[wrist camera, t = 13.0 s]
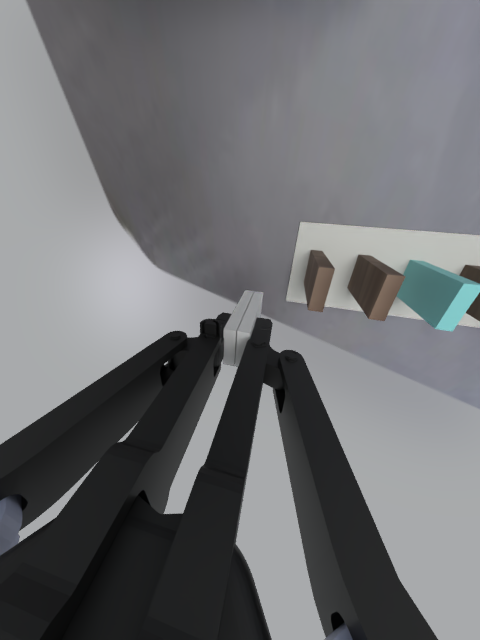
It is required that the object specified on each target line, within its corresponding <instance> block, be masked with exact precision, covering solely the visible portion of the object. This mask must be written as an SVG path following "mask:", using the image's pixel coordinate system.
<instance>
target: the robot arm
mask: <svg viewBox="0 0 480 640" xmlns="http://www.w3.org/2000/svg"><path fill="white" fill-rule="evenodd" d="M262 300H263V292H257V291H255V292H254V291H250V290H245V291H244V293H243V295H242V297H241V299H240V300H239V302H238V304H237V306H236V307H235V309H234V311H233V313H232V314H229V313H222V314H220V315H218V317H217V318H216V319H205V320H203V321H201V322H200V335H199V337H195V338H187V335H186V333H184V332H182V331H173V332H170V333H168V334H166V335H164V336H163V337H162V338H160V339H158V340H157V341H155V342H154V343H152V344H151V345H149V346H148V347H146V348H145V349H143V350H142V351H141V352H139V353H137V354H136V355H134V356H133V357H132V358H130V359H128V360H127V361H126V362H124V363H122V364H121V365H119V366H118V367H117V368H115V369H113V370H112V371H110V372H109V373H108V374H106V375H104V376H103V377H101V378H100V379H98V380H97V381H95V382H94V383H93V384H91V385H89V386H88V387H86V388H85V389H83V390H82V391H80V392H79V393H77V394H76V395H74V396H73V397H71V398H70V399H68V400H67V401H65V402H64V403H62V404H61V405H59V406H58V407H56V408H55V409H53V410H52V411H51V412H49V413H47V414H46V415H44V416H43V417H41V418H40V419H38V420H37V421H35V422H34V423H32V424H31V425H29V426H28V427H26V428H25V429H23V430H22V431H20V432H19V433H17V434H16V435H14V436H13V437H11V438H10V439H8V440H7V441H5V442H4V443H2V444H1V445H0V640H271V636H270V633H269V629H268V626H267V623H266V619H265V616H264V613H263V609H262V606H261V603H260V599H259V596H258V593H257V589H256V586H255V583H254V580H253V577H252V573H251V571H250V569H249V567H248V564H247V562H246V560H245V558H244V556H243V554H242V553H241V551H240V550H239V548H238V547H237V545H236V544H235V543H236V537H237V531H238V525H239V519H240V513H241V507H242V501H243V495H244V489H245V484H246V477H247V472H248V466H249V461H250V455H251V449H252V443H253V437H254V431H255V425H256V420H257V414H258V408H259V402H260V397H261V391H262V385H263V383H265V384H267V385H269V386H271V387H273V393H274V399H275V404H276V409H277V414H278V420H279V425H280V430H281V435H282V440H283V445H284V450H285V456H286V461H287V466H288V471H289V476H290V482H291V487H292V492H293V497H294V502H295V507H296V512H297V518H298V523H299V528H300V533H301V538H302V543H303V549H304V553H305V559H306V564H307V570H308V574H309V578H310V583H311V587H312V592H313V596H314V600H315V603H316V606H317V610H318V613H319V617H320V620H321V623H322V627H323V630H324V633H325V635H326V638H325V639H324V640H438V639H437V637H436V636H435V635H434V633H433V631H432V630H431V628H430V626H429V625H428V623H427V622H426V620H425V619H424V617H423V616H422V614H421V613H420V611H419V610H418V608H417V607H416V605H415V604H414V602H413V600H412V599H411V597H410V596H409V594H408V593H407V591H406V590H405V588H404V586H403V585H402V583H401V582H400V580H399V578H398V576H397V574H396V571H395V569H394V567H393V564H392V562H391V560H390V557H389V555H388V553H387V550H386V548H385V546H384V543H383V541H382V539H381V536H380V534H379V532H378V530H377V527H376V525H375V523H374V520H373V518H372V516H371V513H370V511H369V509H368V506H367V504H366V502H365V500H364V497H363V495H362V493H361V490H360V488H359V486H358V483H357V481H356V479H355V476H354V474H353V472H352V469H351V467H350V465H349V463H348V460H347V458H346V455H345V454H344V451H343V449H342V447H341V444H340V442H339V439H338V437H337V435H336V432H335V430H334V428H333V426H332V423H331V421H330V418H329V416H328V414H327V412H326V409H325V407H324V405H323V402H322V400H321V398H320V395H319V393H318V391H317V388H316V386H315V384H314V381H313V379H312V377H311V375H310V372H309V370H308V368H307V366H306V363H305V361H304V359H303V357H302V355H301V354H299V353H298V352H295V351H293V350H284V351H282V352H281V353H278V352H276V351H274V350H273V349H272V348H271V347H270V345H269V342H270V336H271V329H272V322H271V320H270V319H264V318H260V316H261V308H262ZM222 359H223V364H226V365H231V366H234V365H235V366H236V367H238V369H237V372H236V375H235V378H234V381H233V384H232V387H231V389H230V392H229V395H228V398H227V401H226V404H225V407H224V410H223V413H222V416H221V419H220V422H219V424H218V427H217V431H216V433H215V436H214V439H213V442H212V445H211V448H210V451H209V454H208V456H207V459H206V462H205V464H204V465H203V466H202V467H201V468H200V470H199V472H198V474H197V477H196V479H195V482H194V485H193V488H192V491H191V493H190V496H189V499H188V502H187V504H186V507H185V510H184V513H183V514H163V513H164V511H165V507H166V505H167V501H168V496H169V491H170V487H171V485H172V482H173V479H174V477H175V475H176V472H177V470H178V468H179V465H180V463H181V461H182V458H183V456H184V454H185V451H186V449H187V447H188V444H189V442H190V440H191V437H192V435H193V433H194V430H195V428H196V426H197V423H198V421H199V419H200V416H201V414H202V412H203V409H204V407H205V404H206V402H207V400H208V398H209V395H210V393H211V391H212V388H213V386H214V384H215V381H216V379H217V377H218V374H219V372H220V369H221V361H222ZM167 361H168V363H167V364H166V365H164V363H165V362H167ZM138 421H139V422H138ZM137 422H138V423H137ZM136 423H137V425H136V426H135V428H134V429H133V430H132V432H131V433H130V435H129V436H128V437H127V438H126V440H124V441H123V442H118V441H119V440H120V439H121V438H122V437H123V436H124V435H125V434H126V433H127V432H128V431H129V430H130V429H131V428H132V427H133V426H134V425H135V424H136ZM117 442H118V443H117ZM97 462H98V463H97ZM96 463H97V464H96ZM94 464H96V465H95V467H94V468H93V469H92V471H91V472H90V474H89V475H88V476H87V477H86V479H85V480H84V481H83V483H82V484H81V485H80V487H79V488H78V489H77V491H76V492H75V493H74V495H73V496H72V497H71V499H70V500H69V501H68V503H67V504H66V505H65V507H64V508H63V509H62V511H61V512H60V513H59V515H58V516H57V517H56V518H55V519H53V520H52V521H50V522H49V523H47V524H46V525H45V526H43V527H42V528H40V529H39V530H37V531H36V532H34V533H33V534H31V535H30V536H28V537H27V538H26V539H24V540H23V541H21V542H19V538H20V536H19V535H18V532H19V531H20V530H21V529H23V528H24V527H25V526H27V525H28V524H30V523H31V522H32V521H34V520H35V519H36V518H37V517H39V516H40V515H41V514H42V513H44V512H45V511H46V510H47V509H48V508H50V507H51V506H52V505H53V504H54V503H55V502H57V500H59V499H60V498H61V497H62V496H63V495H64V494H65V493H66V492H67V491H68V490H69V489H70V488H71V487H73V486H74V485H75V483H77V482H78V481H79V480H80V478H82V477H83V476H84V475H85V474H86V473H87V472H88V471H89V470H90V469H91V468H92V467H93V466H94ZM18 542H19V543H18Z"/></svg>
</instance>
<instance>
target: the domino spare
mask: <svg viewBox="0 0 480 640" xmlns="http://www.w3.org/2000/svg"><path fill="white" fill-rule="evenodd" d="M403 275H404V276H406V277H405V279H404V281H403V283H402V285H401V287H400V290H399V292H398V294H397V297H398V298H399V299H400V300H402V301H403V302H404V303H405V304H406V305H407V306H409V307H410V308H411V309H412V310H413V311H415V312H416V313H417V314H418V315H419V316H421V317H422V318H423V319H424V320H425V321H426V322H428V323H429V324H430V325H431V326H432V327H434V328H435V329H440V330H447V331H453V330H454V328H455V327H456V326H457V324H458V323H459V321H460V320H461V318H462V317H463V315H464V314H465V313H466V311H467V310H468V308H469V307H470V305H471V304H472V302H473V301H474V300H475V298H476V297H477V295H478V294H479V292H480V284H479V283H476V282H474V281H471V280H469V279H467V278H464V277H462V276H459V275H457V274H454V273H452V272H449V271H447V270H444V269H442V268H439V267H437V266H434V265H432V264H430V263H427V262H425V261H418V260H410V261H409V263H408V265H407V267H406V269H405V271H404V274H403Z"/></svg>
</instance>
